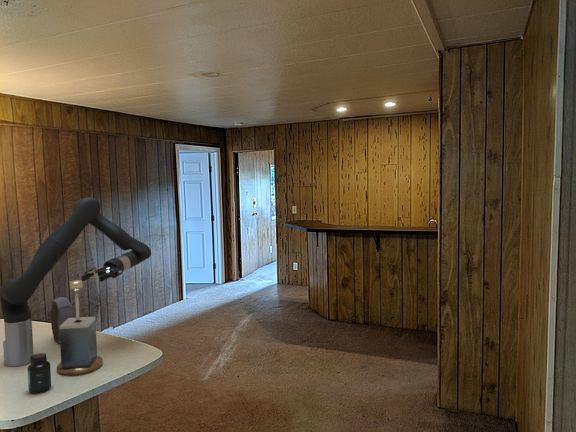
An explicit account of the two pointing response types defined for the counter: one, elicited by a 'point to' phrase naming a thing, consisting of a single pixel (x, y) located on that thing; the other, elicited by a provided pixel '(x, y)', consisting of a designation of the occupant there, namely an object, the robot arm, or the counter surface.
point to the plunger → (76, 295)
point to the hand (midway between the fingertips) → (91, 279)
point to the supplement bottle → (39, 374)
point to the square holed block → (78, 347)
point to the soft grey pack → (60, 315)
